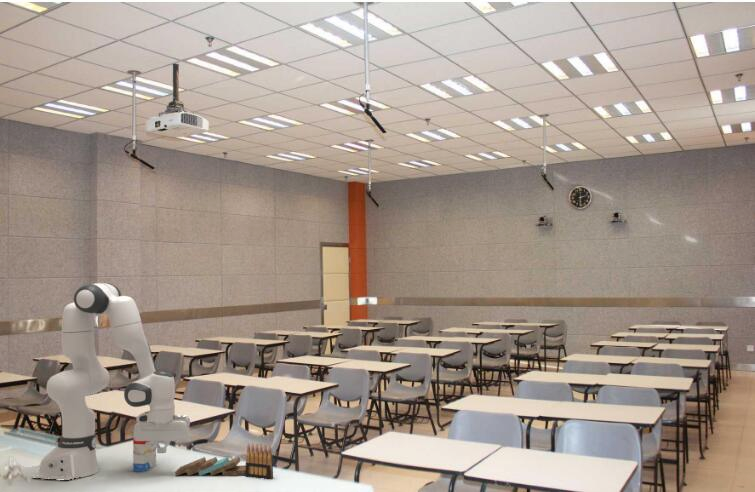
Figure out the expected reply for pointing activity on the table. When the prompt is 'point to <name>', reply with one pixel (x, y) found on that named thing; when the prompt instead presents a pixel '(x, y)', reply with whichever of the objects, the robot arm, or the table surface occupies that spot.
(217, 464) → the domino
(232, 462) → the domino
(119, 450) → the table surface
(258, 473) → the pencil set
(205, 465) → the domino
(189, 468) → the domino
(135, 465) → the ink box
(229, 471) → the domino
